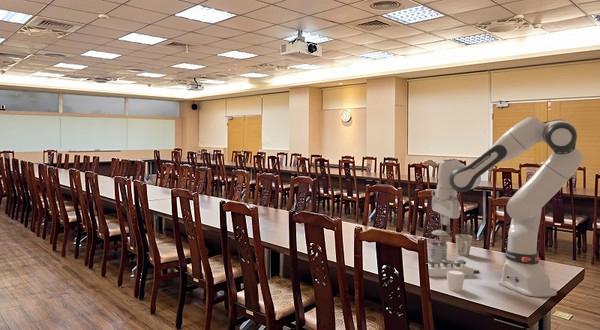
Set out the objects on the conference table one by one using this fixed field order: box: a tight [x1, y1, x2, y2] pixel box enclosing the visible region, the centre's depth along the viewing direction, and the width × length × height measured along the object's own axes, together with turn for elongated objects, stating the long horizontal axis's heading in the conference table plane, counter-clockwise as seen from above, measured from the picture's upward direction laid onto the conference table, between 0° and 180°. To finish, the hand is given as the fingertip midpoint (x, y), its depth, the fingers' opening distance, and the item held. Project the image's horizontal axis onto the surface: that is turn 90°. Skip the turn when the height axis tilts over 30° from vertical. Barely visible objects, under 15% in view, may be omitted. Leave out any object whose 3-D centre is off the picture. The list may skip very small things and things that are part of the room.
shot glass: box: [446, 270, 465, 293], centre depth 178 cm, size 7×7×7 cm
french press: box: [428, 217, 449, 263], centre depth 221 cm, size 10×12×25 cm
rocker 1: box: [427, 259, 440, 266], centre depth 198 cm, size 3×5×1 cm
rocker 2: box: [452, 259, 467, 266], centre depth 200 cm, size 3×5×1 cm
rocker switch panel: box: [427, 263, 480, 278], centre depth 200 cm, size 8×27×5 cm, turn 99°
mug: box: [455, 233, 473, 257], centre depth 232 cm, size 8×13×10 cm, turn 174°
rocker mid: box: [440, 260, 453, 266], centre depth 199 cm, size 3×5×1 cm
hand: (444, 224), depth 201 cm, fingers closed
